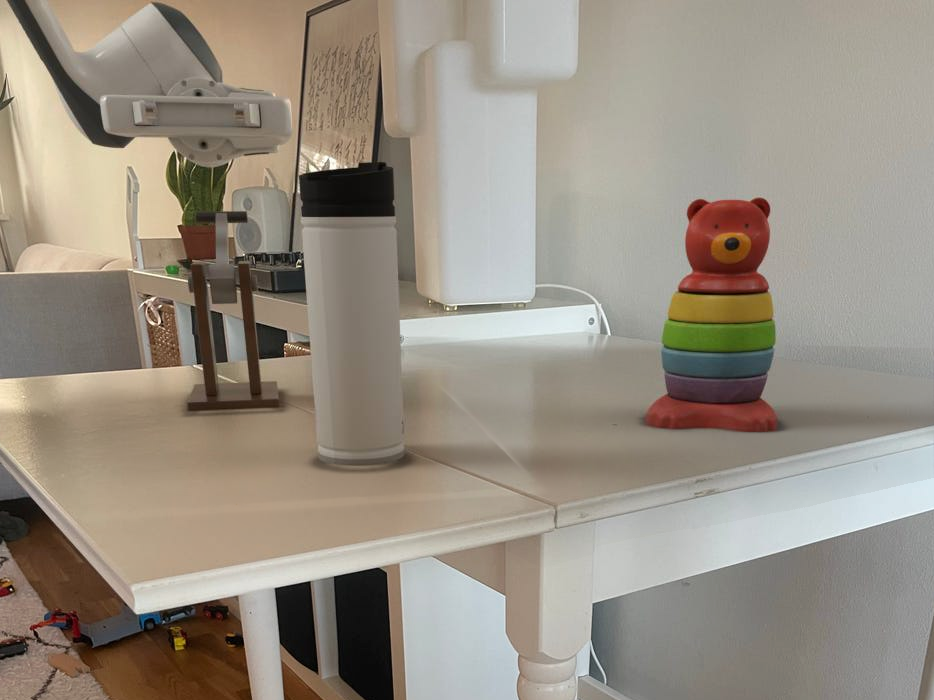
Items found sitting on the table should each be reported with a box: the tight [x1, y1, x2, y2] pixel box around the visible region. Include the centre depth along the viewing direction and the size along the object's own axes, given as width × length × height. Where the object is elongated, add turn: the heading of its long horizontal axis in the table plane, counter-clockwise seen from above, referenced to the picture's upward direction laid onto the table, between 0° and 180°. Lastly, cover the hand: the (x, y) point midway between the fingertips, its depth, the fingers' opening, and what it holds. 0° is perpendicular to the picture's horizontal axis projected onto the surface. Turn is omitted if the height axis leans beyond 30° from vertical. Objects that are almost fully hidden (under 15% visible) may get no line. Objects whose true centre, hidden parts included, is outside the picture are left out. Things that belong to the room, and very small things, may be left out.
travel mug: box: [298, 161, 405, 467], centre depth 67 cm, size 6×7×20 cm
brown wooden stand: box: [186, 260, 280, 412], centre depth 89 cm, size 10×8×13 cm
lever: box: [194, 210, 249, 305], centre depth 92 cm, size 16×5×2 cm, turn 12°
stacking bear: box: [645, 197, 778, 433], centre depth 81 cm, size 11×10×18 cm
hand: (195, 110), depth 101 cm, fingers open, 8 cm apart
